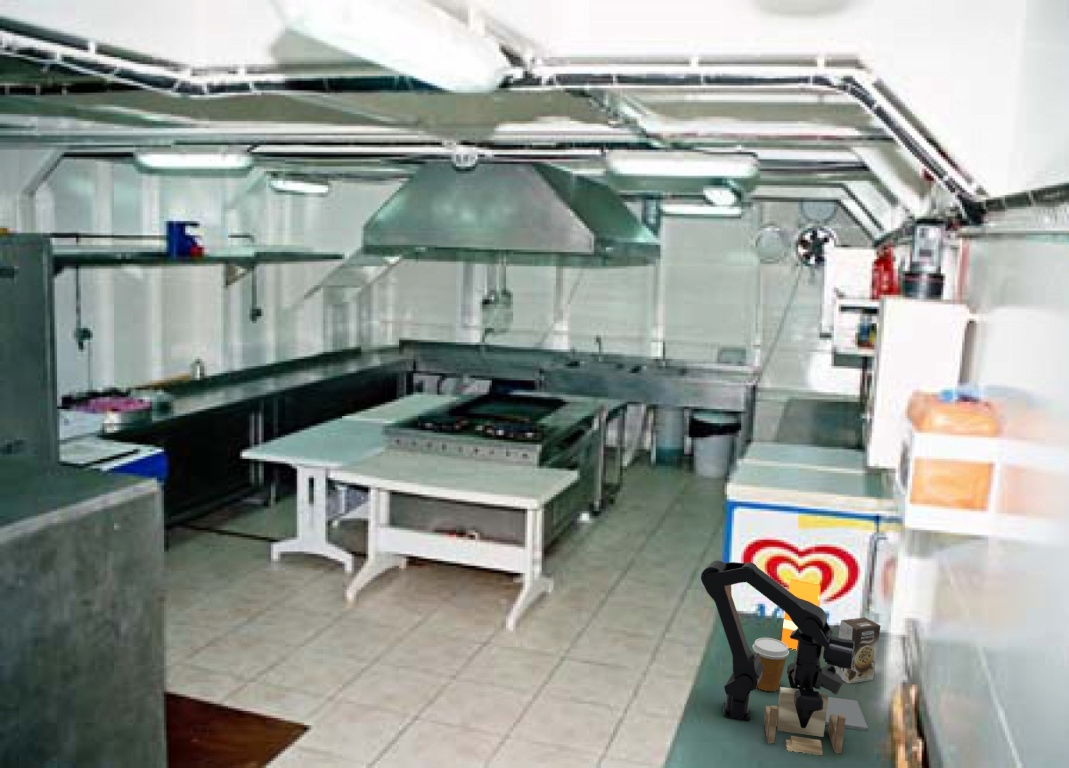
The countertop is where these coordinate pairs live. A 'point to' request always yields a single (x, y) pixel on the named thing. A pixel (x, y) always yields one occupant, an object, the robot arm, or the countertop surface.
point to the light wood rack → (834, 727)
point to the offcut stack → (804, 745)
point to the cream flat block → (789, 717)
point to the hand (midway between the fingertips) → (800, 718)
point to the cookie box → (860, 648)
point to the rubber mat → (846, 713)
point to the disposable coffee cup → (771, 661)
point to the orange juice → (806, 593)
